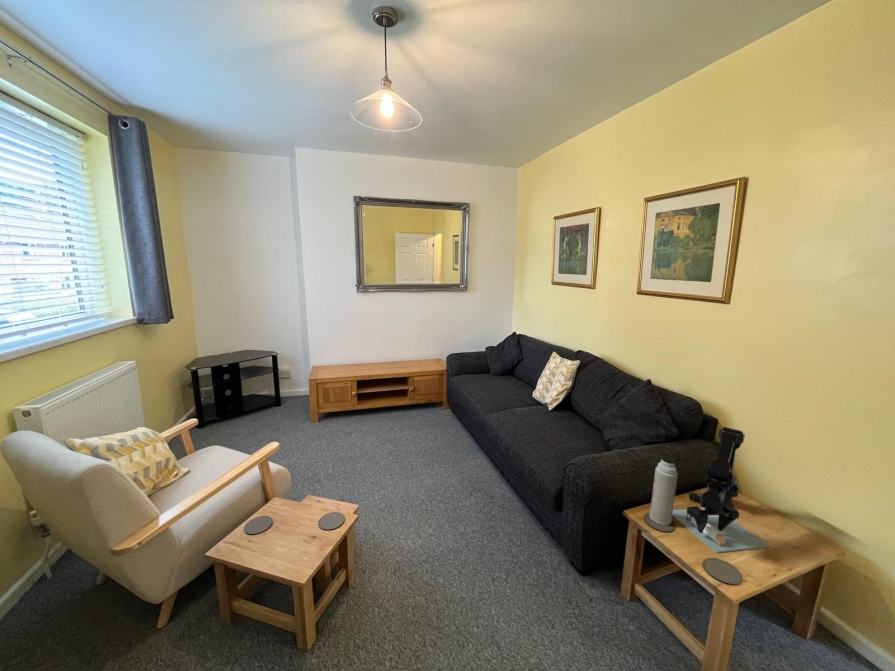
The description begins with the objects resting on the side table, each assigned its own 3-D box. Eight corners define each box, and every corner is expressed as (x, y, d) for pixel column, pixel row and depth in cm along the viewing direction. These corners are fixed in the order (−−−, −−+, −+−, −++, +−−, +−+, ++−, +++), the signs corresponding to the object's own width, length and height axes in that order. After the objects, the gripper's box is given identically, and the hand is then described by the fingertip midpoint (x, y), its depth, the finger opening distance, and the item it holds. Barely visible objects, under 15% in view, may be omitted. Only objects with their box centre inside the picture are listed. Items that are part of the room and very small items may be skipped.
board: (713, 507, 158) (713, 506, 158) (769, 547, 135) (769, 545, 135) (667, 511, 154) (667, 510, 154) (716, 552, 131) (716, 551, 131)
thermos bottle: (647, 518, 149) (654, 458, 145) (652, 510, 155) (660, 451, 151) (668, 528, 144) (676, 465, 140) (673, 519, 149) (681, 458, 145)
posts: (710, 509, 157) (711, 501, 156) (718, 514, 154) (719, 506, 153) (681, 517, 151) (682, 508, 150) (689, 522, 148) (690, 513, 147)
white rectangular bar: (690, 522, 147) (691, 515, 146) (696, 521, 147) (697, 515, 147) (719, 545, 134) (720, 537, 133) (725, 544, 134) (726, 537, 134)
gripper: (716, 482, 146) (711, 516, 149) (678, 485, 143) (673, 520, 146) (743, 498, 136) (736, 534, 138) (701, 502, 132) (696, 539, 135)
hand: (709, 531), depth 139 cm, fingers open, 9 cm apart
